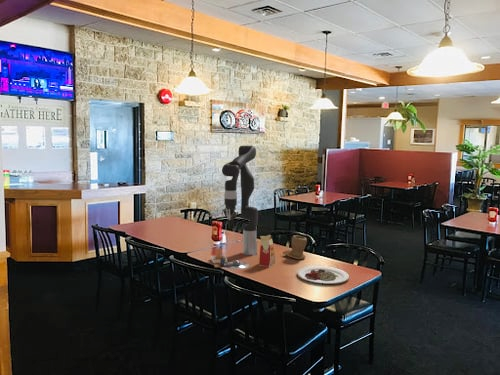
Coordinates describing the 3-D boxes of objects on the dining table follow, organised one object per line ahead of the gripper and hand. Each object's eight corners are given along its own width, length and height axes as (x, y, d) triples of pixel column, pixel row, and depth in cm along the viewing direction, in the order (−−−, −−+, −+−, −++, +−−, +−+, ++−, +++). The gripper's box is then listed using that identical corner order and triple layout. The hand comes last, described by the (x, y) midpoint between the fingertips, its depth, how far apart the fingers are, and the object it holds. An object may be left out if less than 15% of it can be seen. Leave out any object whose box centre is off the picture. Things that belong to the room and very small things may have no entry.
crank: (239, 263, 260) (239, 255, 259) (240, 266, 256) (240, 257, 255) (219, 265, 257) (219, 256, 256) (221, 267, 252) (221, 258, 252)
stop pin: (221, 259, 269) (221, 247, 268) (222, 261, 265) (222, 249, 264) (215, 259, 268) (215, 248, 267) (216, 261, 264) (216, 249, 263)
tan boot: (309, 258, 276) (310, 236, 274) (297, 261, 269) (297, 239, 267) (294, 253, 288) (295, 232, 286) (281, 255, 281) (282, 234, 279)
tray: (224, 258, 272) (224, 255, 272) (227, 263, 263) (227, 259, 263) (210, 259, 270) (210, 256, 269) (213, 264, 261) (213, 260, 260)
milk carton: (275, 264, 263) (276, 233, 260) (270, 268, 254) (270, 236, 252) (262, 262, 267) (263, 232, 264) (256, 266, 258) (257, 235, 256)
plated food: (358, 277, 240) (359, 272, 240) (329, 290, 220) (329, 284, 219) (317, 265, 262) (317, 260, 261) (286, 276, 241) (286, 270, 240)
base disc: (245, 261, 267) (245, 259, 267) (252, 269, 252) (252, 266, 252) (212, 263, 261) (212, 261, 261) (217, 271, 246) (217, 269, 246)
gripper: (242, 198, 245) (241, 226, 247) (228, 195, 255) (228, 222, 257) (232, 199, 240) (232, 228, 242) (219, 196, 250) (219, 224, 252)
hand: (230, 225), depth 250 cm, fingers closed
